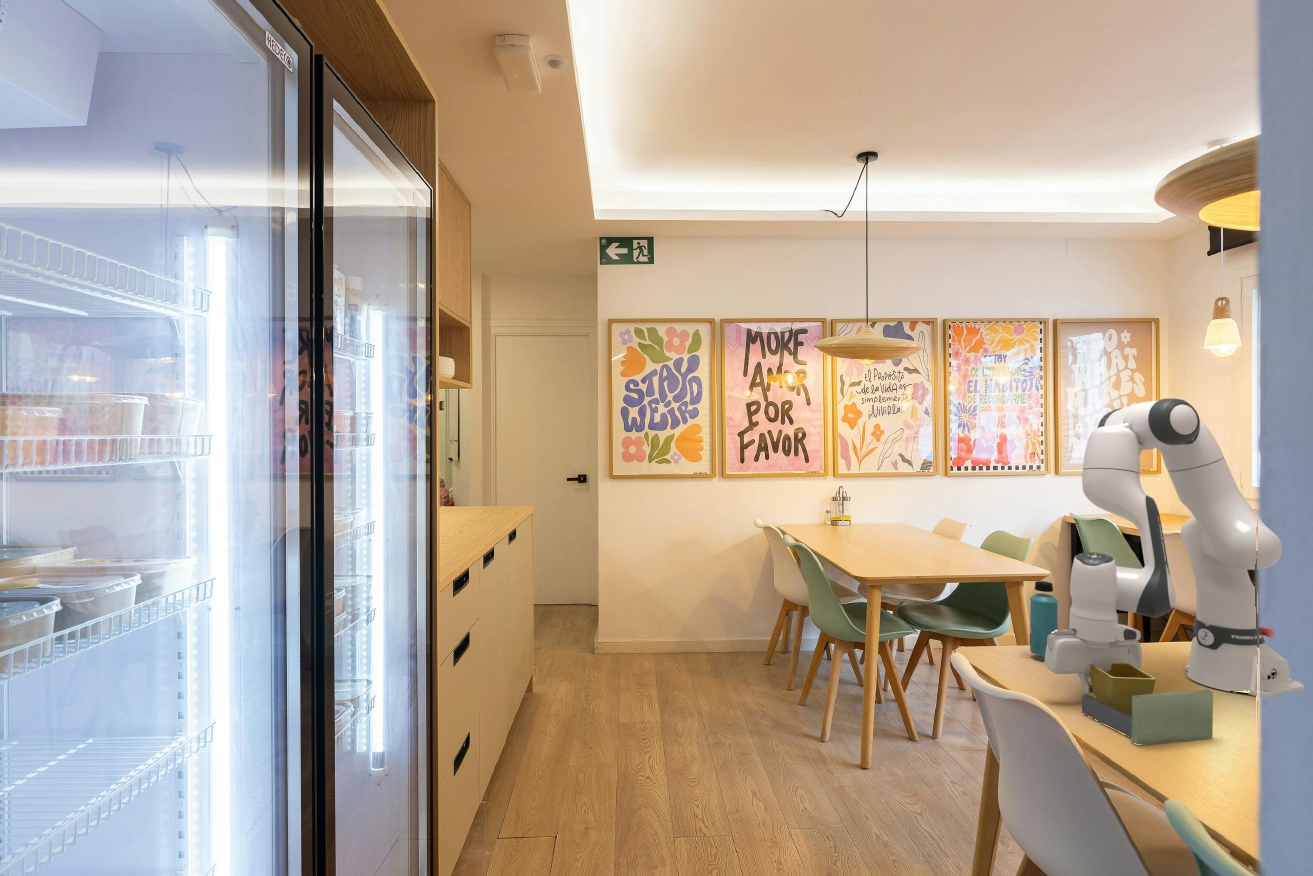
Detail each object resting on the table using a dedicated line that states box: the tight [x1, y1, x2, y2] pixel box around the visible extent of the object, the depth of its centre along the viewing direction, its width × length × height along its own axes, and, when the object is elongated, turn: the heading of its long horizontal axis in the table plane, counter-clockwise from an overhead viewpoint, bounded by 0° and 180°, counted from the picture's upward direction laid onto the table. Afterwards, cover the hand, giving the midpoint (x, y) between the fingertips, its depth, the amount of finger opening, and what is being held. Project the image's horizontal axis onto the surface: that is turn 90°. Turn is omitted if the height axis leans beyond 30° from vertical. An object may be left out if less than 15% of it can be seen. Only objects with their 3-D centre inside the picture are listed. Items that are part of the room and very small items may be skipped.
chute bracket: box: [1081, 689, 1214, 745], centre depth 134 cm, size 17×14×9 cm
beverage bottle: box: [1029, 580, 1059, 658], centre depth 174 cm, size 6×7×20 cm
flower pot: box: [1089, 663, 1156, 715], centre depth 141 cm, size 9×9×9 cm
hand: (1092, 692), depth 146 cm, fingers closed
